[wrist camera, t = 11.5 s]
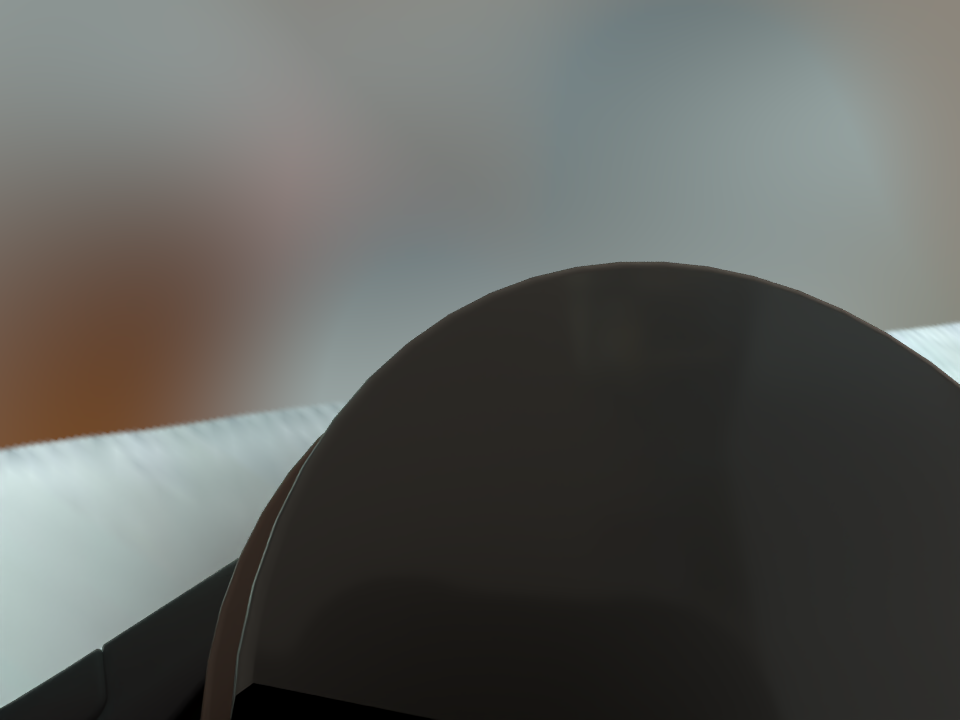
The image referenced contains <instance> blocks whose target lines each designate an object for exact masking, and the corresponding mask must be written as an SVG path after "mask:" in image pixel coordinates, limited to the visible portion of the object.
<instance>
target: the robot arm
mask: <svg viewBox="0 0 960 720" xmlns="http://www.w3.org/2000/svg"><path fill="white" fill-rule="evenodd" d="M238 559H239V558H238ZM238 559H236V560H235V561H233V562H232V563H230V564H228V565H227V566H225V567H224V568H222V569H221V570H219V571H218V572H216V573H214V574H213V575H211V576H210V577H208V578H207V579H205V580H204V581H202V582H200V583H199V584H197V585H196V586H194V587H193V588H191V589H190V590H188V591H186V592H185V593H183V594H182V595H180V596H179V597H177V598H175V599H174V600H172V601H171V602H169V603H168V604H166V605H165V606H163V607H161V608H160V609H158V610H157V611H155V612H154V613H152V614H151V615H149V616H147V617H146V618H144V619H143V620H141V621H140V622H138V623H137V624H135V625H133V626H132V627H130V628H129V629H127V630H126V631H124V632H123V633H121V634H119V635H118V636H116V637H115V638H113V639H112V640H110V641H109V642H107V643H105V644H104V645H103V647H102V650H101V649H96V650H94V651H93V652H91V653H89V654H88V655H86V656H85V657H83V658H82V659H80V660H79V661H77V662H75V663H74V664H72V665H71V666H69V667H68V668H66V669H65V670H63V671H61V672H60V673H58V674H56V675H55V676H53V677H52V678H50V679H48V680H47V681H45V682H43V683H42V684H40V685H39V686H37V687H35V688H34V689H32V690H30V691H29V692H27V693H25V694H24V695H22V696H21V697H19V698H17V699H16V700H14V701H12V702H11V703H9V704H7V705H5V706H4V707H2V708H0V720H200V718H201V710H202V702H203V693H204V685H205V677H206V668H207V662H208V657H209V653H210V649H211V645H212V641H213V637H214V633H215V628H216V624H217V620H218V616H219V612H220V608H221V605H222V602H223V600H224V597H225V594H226V592H227V589H228V586H229V583H230V581H231V578H232V575H233V573H234V570H235V567H236V564H237V562H238Z"/></svg>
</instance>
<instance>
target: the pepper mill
mask: <svg viewBox="0 0 960 720" xmlns="http://www.w3.org/2000/svg"><path fill="white" fill-rule="evenodd" d="M200 720H960V384H958V383H957V382H956V381H955V380H953V379H952V378H951V377H950V376H948V375H947V374H946V373H944V372H943V371H942V370H941V369H939V368H938V367H937V366H936V365H934V364H933V363H932V362H930V361H929V360H927V359H926V358H924V357H923V356H921V355H920V354H918V353H917V352H915V351H914V350H912V349H910V348H909V347H907V346H906V345H904V344H903V343H901V342H900V341H898V340H897V339H895V338H894V337H892V336H891V335H889V334H888V333H886V332H884V331H882V330H880V329H878V328H877V327H875V326H873V325H871V324H869V323H867V322H865V321H863V320H862V319H860V318H858V317H856V316H854V315H852V314H851V313H849V312H847V311H845V310H843V309H841V308H838V307H836V306H834V305H831V304H829V303H827V302H824V301H822V300H820V299H817V298H815V297H813V296H810V295H808V294H806V293H803V292H801V291H799V290H795V289H792V288H789V287H786V286H783V285H780V284H777V283H773V282H770V281H767V280H764V279H761V278H758V277H755V276H750V275H746V274H741V273H736V272H731V271H727V270H722V269H717V268H712V267H708V266H698V265H689V264H679V263H669V262H615V263H608V264H599V265H590V266H581V267H574V268H570V269H566V270H561V271H557V272H553V273H549V274H545V275H541V276H536V277H532V278H529V279H527V280H524V281H521V282H519V283H516V284H513V285H511V286H508V287H505V288H503V289H500V290H497V291H495V292H492V293H489V294H487V295H486V296H484V297H482V298H480V299H478V300H476V301H474V302H472V303H470V304H468V305H466V306H464V307H462V308H460V309H459V310H457V311H455V312H453V313H451V314H449V315H447V316H446V317H445V318H443V319H442V320H440V321H439V322H438V323H436V324H435V325H433V326H432V327H430V328H429V329H427V330H426V331H425V332H423V333H422V334H420V335H419V336H417V337H416V338H414V339H413V340H411V341H410V342H409V343H408V344H406V345H405V346H404V347H403V348H402V349H401V350H399V351H398V352H397V353H396V354H395V355H394V356H393V357H392V358H391V359H389V361H387V362H386V363H385V364H384V365H383V366H382V367H381V368H380V369H378V370H377V371H376V372H375V373H374V374H373V375H372V376H371V377H370V378H368V379H367V381H366V382H365V383H364V384H363V385H362V387H361V388H360V389H359V390H358V391H357V392H356V393H355V395H354V396H353V397H352V398H351V399H350V400H349V402H348V403H347V404H346V405H345V406H344V407H343V409H342V410H341V411H340V412H339V413H338V414H337V416H336V417H335V418H334V419H333V421H332V422H331V424H330V425H329V427H328V428H327V430H326V431H325V432H324V433H323V434H322V435H321V436H320V437H319V438H318V439H317V440H316V441H315V442H314V444H313V445H312V446H311V447H310V448H309V449H308V451H307V452H306V453H305V454H304V455H303V456H302V458H301V459H300V460H299V461H298V462H297V463H296V465H295V466H294V467H293V468H292V469H291V470H290V472H289V473H288V474H287V476H286V477H285V479H284V480H283V482H282V483H281V485H280V486H279V488H278V489H277V491H276V492H275V494H274V495H273V497H272V498H271V500H270V501H269V503H268V504H267V506H266V507H265V509H264V510H263V512H262V513H261V515H260V517H259V519H258V521H257V523H256V525H255V527H254V529H253V531H252V533H251V535H250V537H249V539H248V541H247V543H246V545H245V547H244V549H243V551H242V553H241V555H240V557H239V559H238V562H237V564H236V567H235V570H234V573H233V575H232V578H231V581H230V583H229V586H228V589H227V592H226V594H225V597H224V600H223V602H222V605H221V608H220V612H219V616H218V620H217V624H216V628H215V633H214V637H213V641H212V645H211V649H210V653H209V657H208V662H207V668H206V677H205V685H204V693H203V702H202V710H201V718H200Z"/></svg>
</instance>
